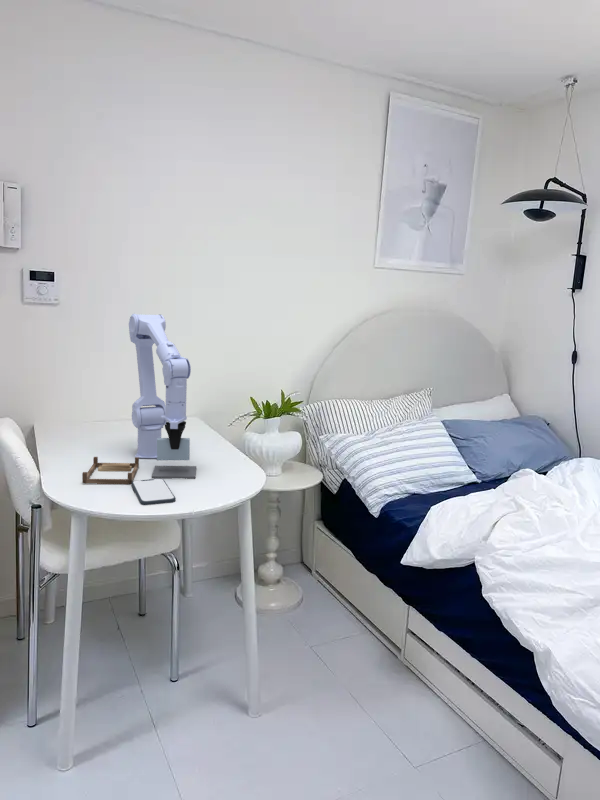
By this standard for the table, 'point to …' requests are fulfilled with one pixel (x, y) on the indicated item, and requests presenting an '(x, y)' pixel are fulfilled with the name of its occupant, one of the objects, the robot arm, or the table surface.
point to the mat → (174, 472)
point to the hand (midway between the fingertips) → (175, 447)
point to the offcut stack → (115, 467)
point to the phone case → (152, 492)
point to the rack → (109, 481)
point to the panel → (173, 450)
